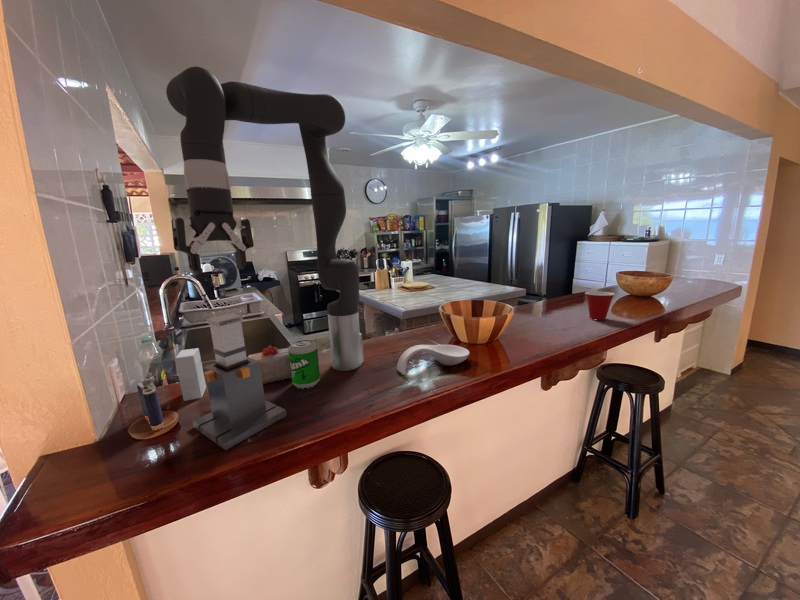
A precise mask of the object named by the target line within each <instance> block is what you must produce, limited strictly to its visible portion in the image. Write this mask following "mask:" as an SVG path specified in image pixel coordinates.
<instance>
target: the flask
mask: <svg viewBox="0 0 800 600" xmlns="http://www.w3.org/2000/svg"><path fill="white" fill-rule="evenodd" d="M151 380H153V378H152V377H150V378H146V379H141V380H140V381H139V382H138V383H137V384H136V389H137V392H138V396H139V400H140V403H141V409H142V413H143V417H145V416H148V418H149V422H150V425H149V427H150V426H157V425H159V424H161V423H162V422H163V419H164V417H163V416H164V415H163V411H162V409H161V408H162V407H161V404H160V399H159V395H158V394H159V393H158V389H157V387H156V385H155V384H154V383H153V382H151Z"/></svg>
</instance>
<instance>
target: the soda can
mask: <svg viewBox="0 0 800 600" xmlns="http://www.w3.org/2000/svg"><path fill="white" fill-rule="evenodd" d="M287 348H288V351H289V359H290V368H291V376H292V378H291V383H292V385H293V386H294V387H296V388H297V389H300V388H301V389H302V390H305V389H304V388H307V389H311V388H313V387H315V386H317V384H318V382H319V381H320V380H321V374H320V364H319V363H320V362H319V352H318V345H317V343H315V342H314V341H313V340H312V339H300V340H296V341H293V342H292V343H291V344H290V345H289V346H288V347H287ZM314 385H315V386H314ZM310 387H311V388H310ZM301 389H300V390H301Z"/></svg>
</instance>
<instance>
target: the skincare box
mask: <svg viewBox="0 0 800 600" xmlns="http://www.w3.org/2000/svg"><path fill="white" fill-rule="evenodd" d="M201 359H202V358H201V353H200V349H199V347H197V348H196V347H195V348H189V349H181V350H180V351H179V353H178V354H177V356H175V358H174V360H175V366H176V369H177V375H178V376H177V377H178V380H179V384H180V390H181V395H182V399H183V401H184V402H187V401H192V400H196V399H201V398H203V395H204V393H205V391H206V389H207V383H206V381H205V379H204V367H203V363H202V360H201Z"/></svg>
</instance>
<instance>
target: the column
mask: <svg viewBox="0 0 800 600" xmlns="http://www.w3.org/2000/svg"><path fill="white" fill-rule="evenodd" d="M206 321H207V322H206V323H207V325H209V329H210V333H211V341H212V345H213V348H212V352H213V354H214V357H215V362H214V363H215V365H216V367H217V368H218V369H221V370H223V371H225V372H226V371H229V370H232V369H234V368H237V367H240V366H242V365H245V364H247V363H248V359H247V357H248V356H247V352H246V351H247V346H246V345H245V338H244V333H243V332H244V331H243V324H242V321H244V317H243V315H241V314H236V313H232V312H231V313H226V314H223V315H218V316H214V317H210V318H207V319H206Z"/></svg>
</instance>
